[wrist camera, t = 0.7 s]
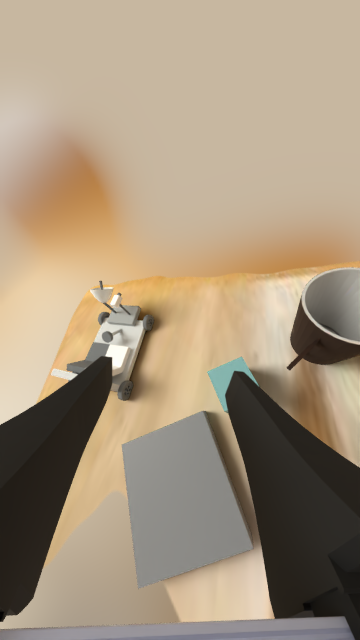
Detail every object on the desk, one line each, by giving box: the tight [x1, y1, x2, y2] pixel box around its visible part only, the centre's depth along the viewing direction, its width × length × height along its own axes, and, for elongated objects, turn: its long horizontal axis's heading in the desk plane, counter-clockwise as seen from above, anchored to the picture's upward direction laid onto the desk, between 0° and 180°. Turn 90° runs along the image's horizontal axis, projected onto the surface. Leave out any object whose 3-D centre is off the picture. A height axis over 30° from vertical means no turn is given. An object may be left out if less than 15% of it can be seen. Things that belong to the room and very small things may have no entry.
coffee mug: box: [287, 267, 360, 370], centre depth 20 cm, size 12×9×10 cm
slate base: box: [122, 411, 253, 588], centre depth 21 cm, size 12×12×2 cm
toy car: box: [51, 281, 154, 401], centre depth 30 cm, size 18×10×12 cm
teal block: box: [208, 357, 259, 413], centre depth 22 cm, size 4×4×6 cm
